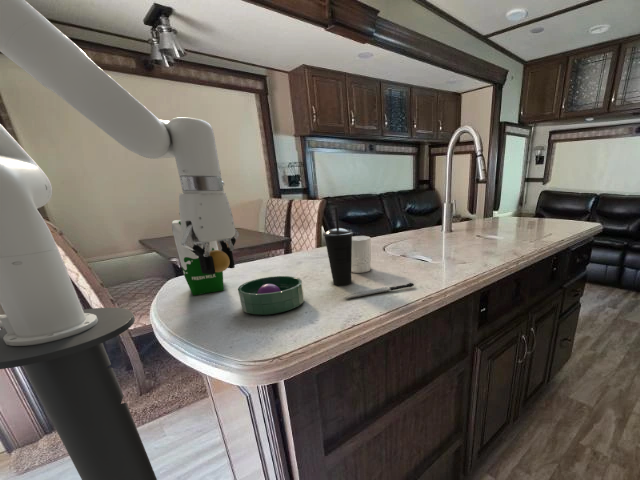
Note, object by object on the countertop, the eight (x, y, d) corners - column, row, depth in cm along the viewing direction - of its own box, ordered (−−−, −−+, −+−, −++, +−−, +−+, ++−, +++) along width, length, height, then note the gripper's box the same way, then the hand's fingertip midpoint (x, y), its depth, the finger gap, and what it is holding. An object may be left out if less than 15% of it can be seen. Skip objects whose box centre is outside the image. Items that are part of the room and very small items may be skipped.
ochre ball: (203, 275, 70) (198, 252, 68) (210, 269, 74) (206, 248, 72) (228, 274, 71) (224, 251, 69) (234, 268, 75) (230, 247, 73)
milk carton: (188, 297, 78) (165, 214, 71) (189, 288, 85) (168, 211, 78) (228, 290, 82) (210, 211, 75) (225, 282, 89) (208, 209, 82)
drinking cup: (355, 277, 91) (350, 205, 84) (357, 285, 84) (352, 208, 77) (328, 280, 90) (320, 206, 83) (328, 288, 83) (320, 209, 76)
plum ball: (263, 312, 70) (253, 301, 66) (262, 293, 72) (252, 282, 68) (285, 307, 70) (277, 296, 66) (284, 289, 73) (276, 277, 68)
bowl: (235, 320, 65) (230, 297, 63) (249, 298, 77) (245, 278, 75) (302, 313, 67) (299, 291, 65) (305, 293, 79) (303, 274, 77)
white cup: (361, 274, 94) (359, 241, 90) (341, 271, 98) (339, 239, 94) (377, 268, 100) (375, 237, 97) (357, 265, 104) (355, 235, 101)
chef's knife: (339, 296, 77) (343, 300, 74) (339, 292, 76) (342, 295, 74) (409, 284, 84) (414, 287, 82) (409, 280, 84) (414, 282, 81)
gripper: (220, 186, 75) (233, 261, 81) (148, 185, 59) (171, 279, 66) (246, 186, 73) (258, 263, 79) (179, 186, 57) (200, 282, 64)
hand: (218, 269), depth 72 cm, fingers closed on ochre ball, 4 cm apart
